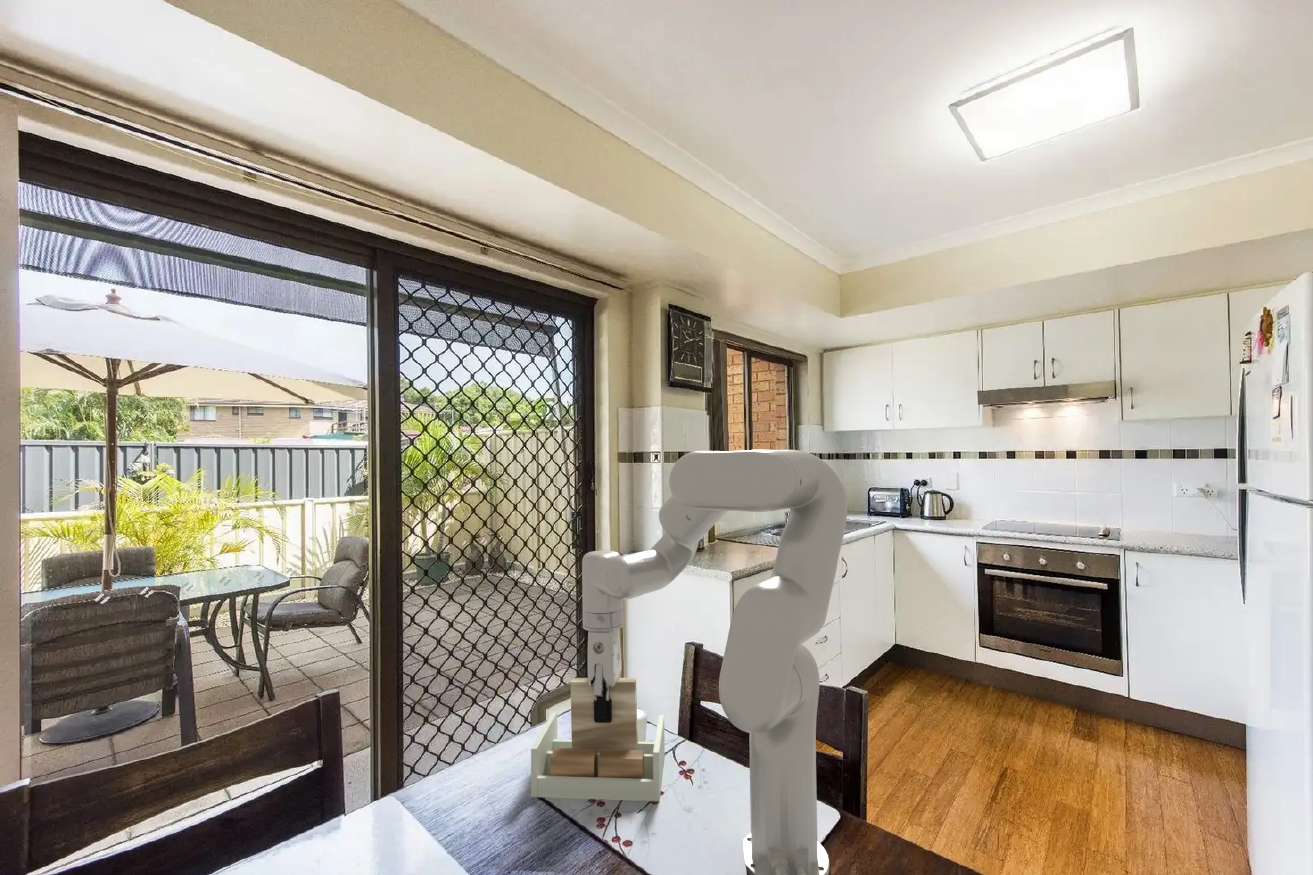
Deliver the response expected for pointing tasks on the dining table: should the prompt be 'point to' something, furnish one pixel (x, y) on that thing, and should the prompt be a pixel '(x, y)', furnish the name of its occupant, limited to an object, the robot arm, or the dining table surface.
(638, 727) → the white cup
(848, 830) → the dining table surface
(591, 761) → the offcut
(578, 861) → the dining table surface
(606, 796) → the rack
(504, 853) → the dining table surface
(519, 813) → the dining table surface
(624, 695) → the birch sheet
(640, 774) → the offcut
